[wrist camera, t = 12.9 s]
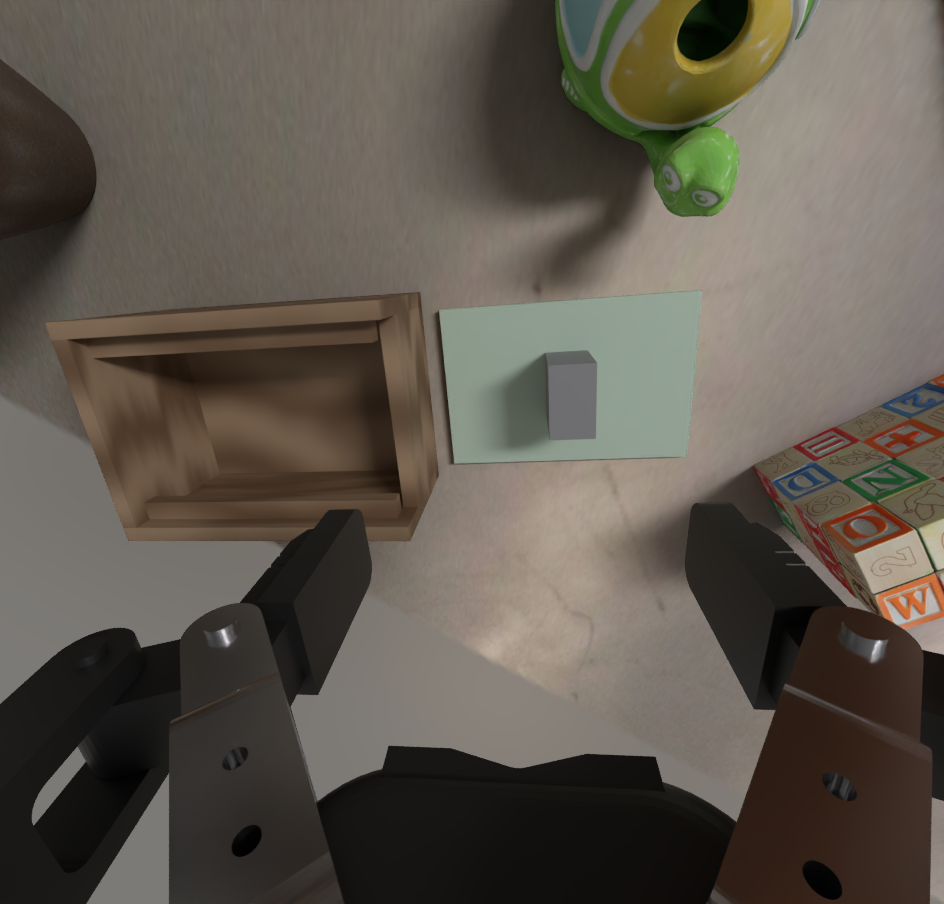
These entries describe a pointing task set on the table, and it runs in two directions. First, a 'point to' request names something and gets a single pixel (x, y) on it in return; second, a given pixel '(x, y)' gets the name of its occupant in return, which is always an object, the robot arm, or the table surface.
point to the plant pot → (39, 159)
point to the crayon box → (257, 416)
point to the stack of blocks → (873, 503)
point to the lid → (572, 378)
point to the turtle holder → (676, 80)
